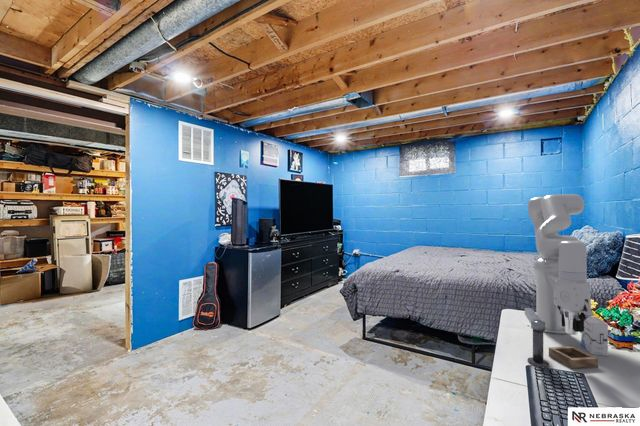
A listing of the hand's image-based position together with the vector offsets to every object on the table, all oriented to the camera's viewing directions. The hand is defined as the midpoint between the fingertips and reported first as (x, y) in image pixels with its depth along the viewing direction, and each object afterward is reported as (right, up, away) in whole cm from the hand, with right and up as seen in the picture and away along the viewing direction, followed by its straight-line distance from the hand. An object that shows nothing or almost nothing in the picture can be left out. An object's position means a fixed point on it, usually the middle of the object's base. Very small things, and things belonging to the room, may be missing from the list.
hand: (572, 328), depth 106 cm
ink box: (+15, -12, +9) cm, 21 cm away
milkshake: (0, -2, 0) cm, 2 cm away
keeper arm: (-10, 0, +5) cm, 11 cm away
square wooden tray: (0, -12, 0) cm, 12 cm away
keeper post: (-13, -12, -1) cm, 17 cm away
